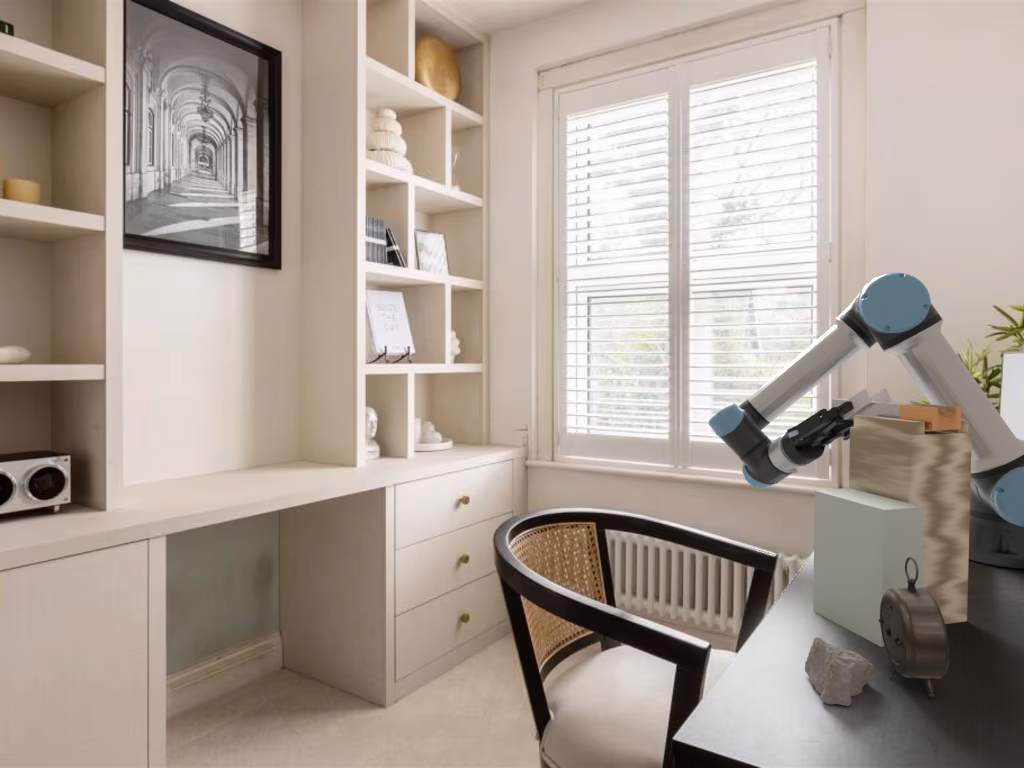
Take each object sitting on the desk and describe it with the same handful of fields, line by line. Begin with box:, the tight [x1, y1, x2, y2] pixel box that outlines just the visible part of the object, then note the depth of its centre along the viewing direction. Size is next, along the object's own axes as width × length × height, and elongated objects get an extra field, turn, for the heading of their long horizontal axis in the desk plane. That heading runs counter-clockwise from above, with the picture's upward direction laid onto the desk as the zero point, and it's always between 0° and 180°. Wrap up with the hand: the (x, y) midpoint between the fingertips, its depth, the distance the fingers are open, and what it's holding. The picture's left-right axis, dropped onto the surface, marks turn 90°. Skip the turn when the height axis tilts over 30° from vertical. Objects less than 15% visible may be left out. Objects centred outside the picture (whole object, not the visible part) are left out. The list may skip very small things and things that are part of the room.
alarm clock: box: [879, 557, 950, 699], centre depth 84 cm, size 11×5×16 cm, turn 168°
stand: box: [848, 415, 972, 625], centre depth 107 cm, size 12×12×32 cm
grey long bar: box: [831, 398, 961, 431], centre depth 110 cm, size 6×22×4 cm, turn 15°
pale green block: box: [812, 488, 923, 648], centre depth 101 cm, size 7×14×20 cm, turn 15°
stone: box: [804, 636, 876, 707], centre depth 82 cm, size 10×8×6 cm
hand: (877, 396), depth 112 cm, fingers closed on grey long bar, 3 cm apart
